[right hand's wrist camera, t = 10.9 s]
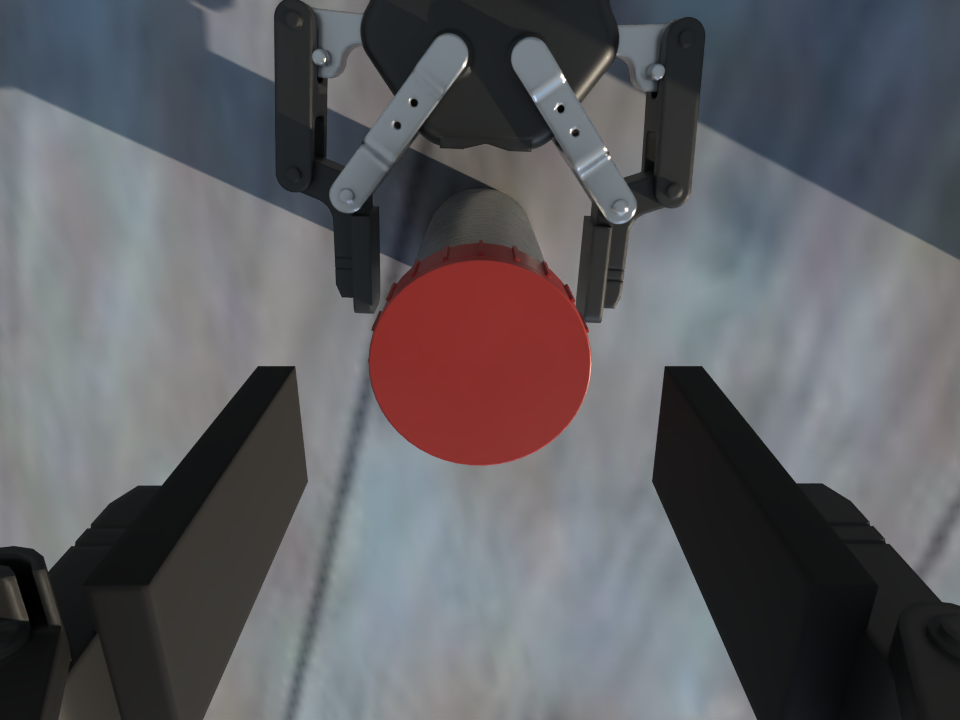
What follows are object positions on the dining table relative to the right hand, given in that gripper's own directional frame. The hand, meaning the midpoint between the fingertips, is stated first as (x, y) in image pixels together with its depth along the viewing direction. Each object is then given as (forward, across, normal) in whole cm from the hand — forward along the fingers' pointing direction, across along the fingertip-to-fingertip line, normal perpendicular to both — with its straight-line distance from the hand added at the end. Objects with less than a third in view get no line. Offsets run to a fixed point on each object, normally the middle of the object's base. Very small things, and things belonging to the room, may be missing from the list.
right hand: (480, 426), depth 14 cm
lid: (+3, 0, 0) cm, 3 cm away
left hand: (+12, 0, -2) cm, 12 cm away
